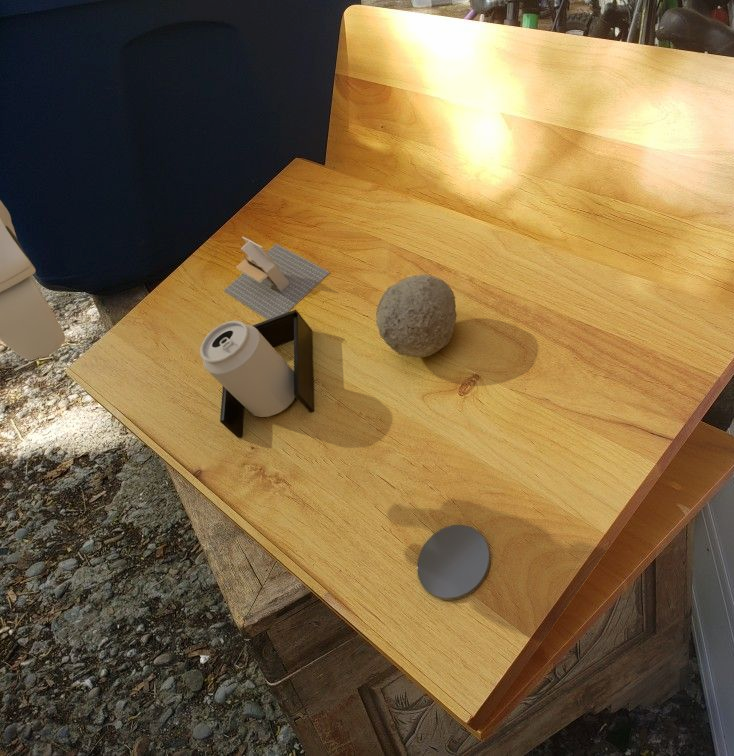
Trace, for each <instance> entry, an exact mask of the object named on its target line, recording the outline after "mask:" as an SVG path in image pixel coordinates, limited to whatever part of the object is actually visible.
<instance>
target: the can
mask: <svg viewBox="0 0 734 756" xmlns="http://www.w3.org/2000/svg"><path fill="white" fill-rule="evenodd" d="M199 348H200V349H199V354H200V358H201V359H202V365H203V368H204V369H205V370H206V371H207V372H208V373H209V374H210V375H211V376H212V377H213V378H214V379H215V380H216V381H217V382H218V383H219V384H220V385H221V386H222V387H223V386H224V387H225V388H226V389H227V390H228V391H229V392H230V393H231V394H232V395H233V396H234V397H235V398H236V399H237V400H238V401H239V402H240V403H241V404H242V405H243V406H244V409H246V410H247V411H248V412H250V414H252V415H253V416H254V417H260V418H264V417H265V418H266V417H267V418H268V417H271V416H274V415H278V414H280V413H282V412H283V411H285V410H286V409H288V407H290V405H292V404H293V402H294V401H295V399H296V397H295V396H294V369H293V368H292V367H291V366H290V365H289V364H288V363H287V362H286V361H285V360H284V358H283V357H282V356H281V355H280V354H279V353H278V352H277V350H276V349H275V347H272V346H271V345H270V344H269V342H268V341H267V340H266V339H265V338H264V337H263V336H262V334H261V333H260V332H259V331H258V330H257V329H256V328H255V327H253V326H252V324H246V323H245V322H243V321H241V320H229V321H226V322H224V323H221V324H219V325H218V326H216V327H214V328H213V329H212V330H210V332H208V333H207V335H206V336H205V338H204V339H203V340H202V343H201V345H200V347H199Z"/></svg>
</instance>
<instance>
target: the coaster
mask: <svg viewBox="0 0 734 756" xmlns="http://www.w3.org/2000/svg"><path fill="white" fill-rule="evenodd" d="M491 554H492V553H491V547H490V545H489V543H488V541H487V539H486V538H485V537H484V535H483V534H482V533H481V531H479V530H477V529H476V528H474V527H472V526H469V525H465V524H453V525H449V526H445V527H443V528H441V529H439V530H438V531H435V532H434V533H433V534H432V535H431V536H430V537H429V538H428V539H427V540H426V541H425V543H424V544H423V546H422V548H421V550H420V552H419V555H418V558H417V564H416V571H417V572H416V573H417V576H418V580H419V582H420V584H421V586H422V588H423V589H424V590H425V591H426V592H427V593H428V594H429V595H431V596H432V597H434V598H436V599H439V600H442V601H457V600H460V599H464V598H466V597H467V596H469V595H471V594H473V593H474V592H475V591H476V590H478V588H479V587H480V586H481V585H482V584H483V583H484V581H485V580H486V578H487V576H488V574H489V571H490V568H491V561H492V555H491Z"/></svg>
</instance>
